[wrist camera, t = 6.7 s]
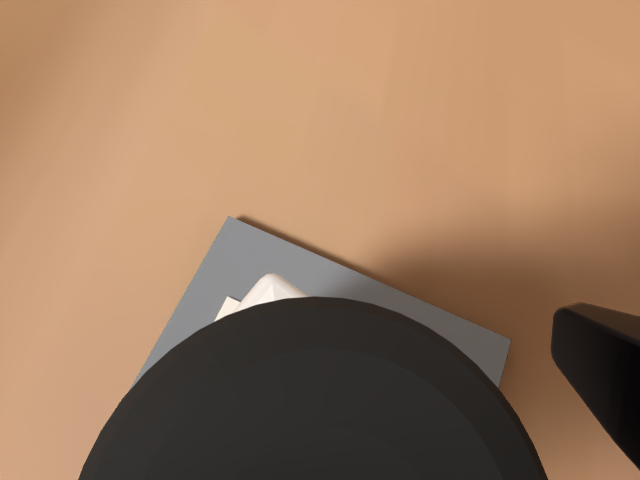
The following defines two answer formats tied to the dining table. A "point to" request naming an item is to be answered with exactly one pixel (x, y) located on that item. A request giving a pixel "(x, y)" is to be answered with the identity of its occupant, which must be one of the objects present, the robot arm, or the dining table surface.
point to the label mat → (314, 280)
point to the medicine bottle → (313, 402)
